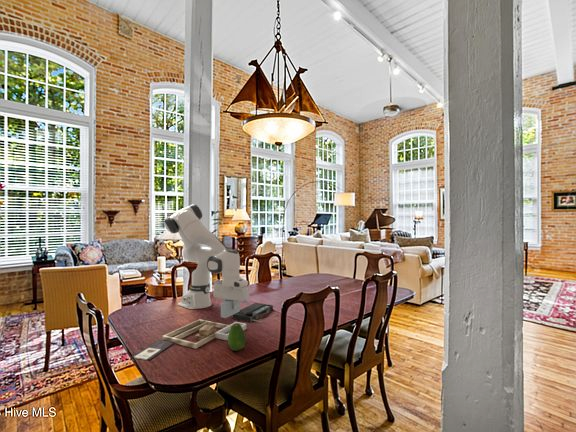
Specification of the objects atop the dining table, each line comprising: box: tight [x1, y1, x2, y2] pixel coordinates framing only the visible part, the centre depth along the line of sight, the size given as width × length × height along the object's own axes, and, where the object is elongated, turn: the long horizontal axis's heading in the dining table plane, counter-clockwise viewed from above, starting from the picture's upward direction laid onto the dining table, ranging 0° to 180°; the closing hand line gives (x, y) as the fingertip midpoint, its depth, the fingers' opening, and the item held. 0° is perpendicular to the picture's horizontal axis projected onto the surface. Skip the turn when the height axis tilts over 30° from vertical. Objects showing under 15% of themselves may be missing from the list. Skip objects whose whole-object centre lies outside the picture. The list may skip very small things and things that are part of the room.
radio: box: [231, 302, 274, 323], centre depth 185 cm, size 25×4×20 cm
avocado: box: [227, 323, 247, 352], centre depth 137 cm, size 8×8×12 cm
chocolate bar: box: [131, 339, 175, 361], centre depth 137 cm, size 9×1×18 cm
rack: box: [161, 318, 230, 350], centre depth 155 cm, size 21×26×2 cm
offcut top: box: [198, 325, 215, 336], centre depth 152 cm, size 5×7×2 cm, turn 170°
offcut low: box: [194, 329, 217, 341], centre depth 152 cm, size 5×10×2 cm, turn 156°
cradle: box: [214, 321, 248, 341], centre depth 157 cm, size 7×17×2 cm, turn 154°
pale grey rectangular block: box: [220, 300, 241, 319], centre depth 156 cm, size 3×12×7 cm, turn 154°
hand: (230, 308), depth 157 cm, fingers closed on pale grey rectangular block, 3 cm apart
